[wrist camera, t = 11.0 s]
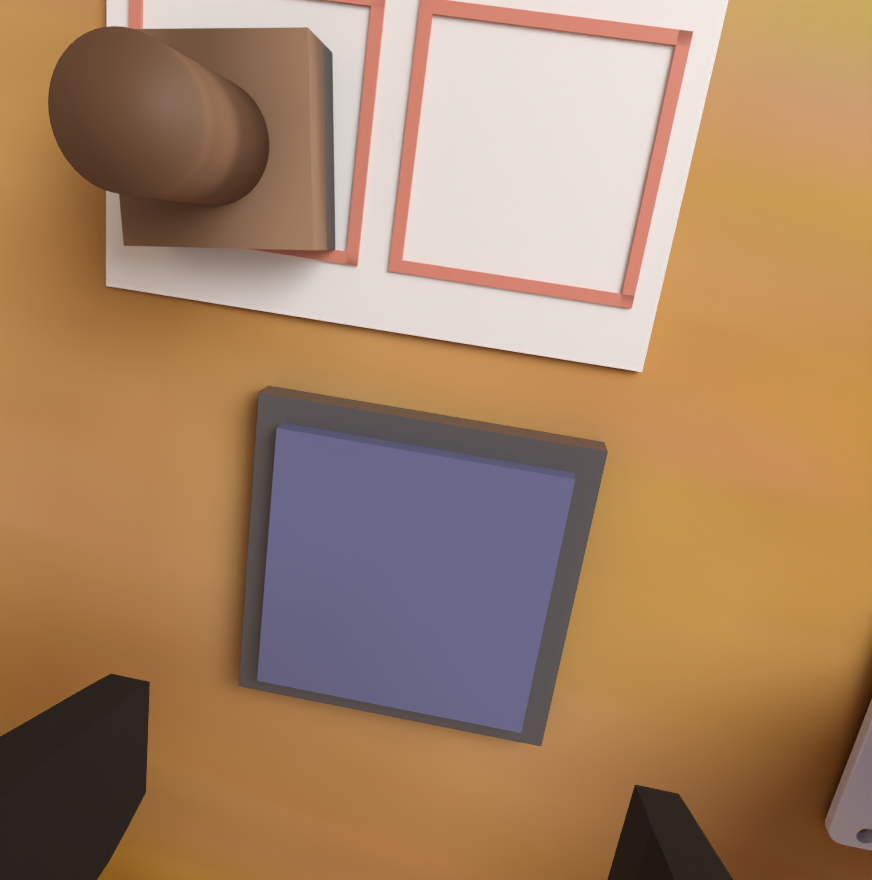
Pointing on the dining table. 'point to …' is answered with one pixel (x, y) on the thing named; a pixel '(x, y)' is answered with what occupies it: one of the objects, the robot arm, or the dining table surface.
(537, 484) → the ink pad
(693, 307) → the dining table surface
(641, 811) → the robot arm
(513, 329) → the sheet
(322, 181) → the stamp
